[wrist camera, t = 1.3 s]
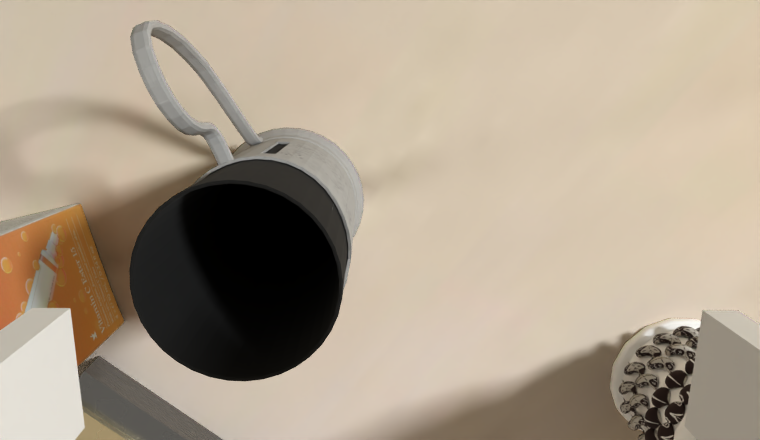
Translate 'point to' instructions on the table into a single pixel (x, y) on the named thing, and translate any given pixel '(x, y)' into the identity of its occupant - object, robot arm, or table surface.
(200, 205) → the glass holder
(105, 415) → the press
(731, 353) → the robot arm
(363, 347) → the table surface
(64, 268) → the small box
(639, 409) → the decorative candle
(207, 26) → the table surface
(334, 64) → the table surface
